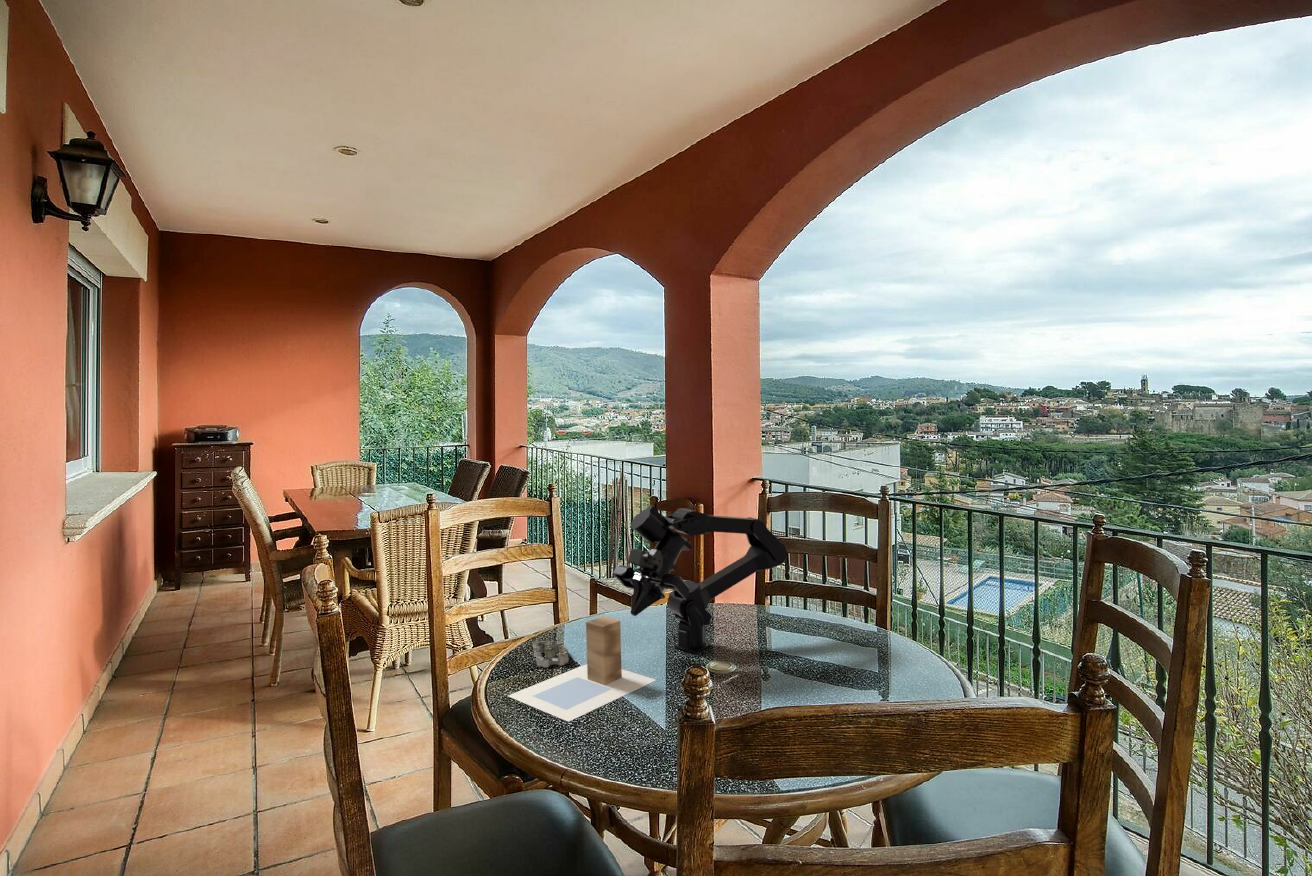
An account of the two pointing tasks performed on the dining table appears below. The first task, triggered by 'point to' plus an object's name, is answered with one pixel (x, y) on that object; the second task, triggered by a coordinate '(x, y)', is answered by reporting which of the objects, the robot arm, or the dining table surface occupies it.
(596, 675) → the oak block
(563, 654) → the egg carton
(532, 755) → the dining table surface
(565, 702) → the mat
